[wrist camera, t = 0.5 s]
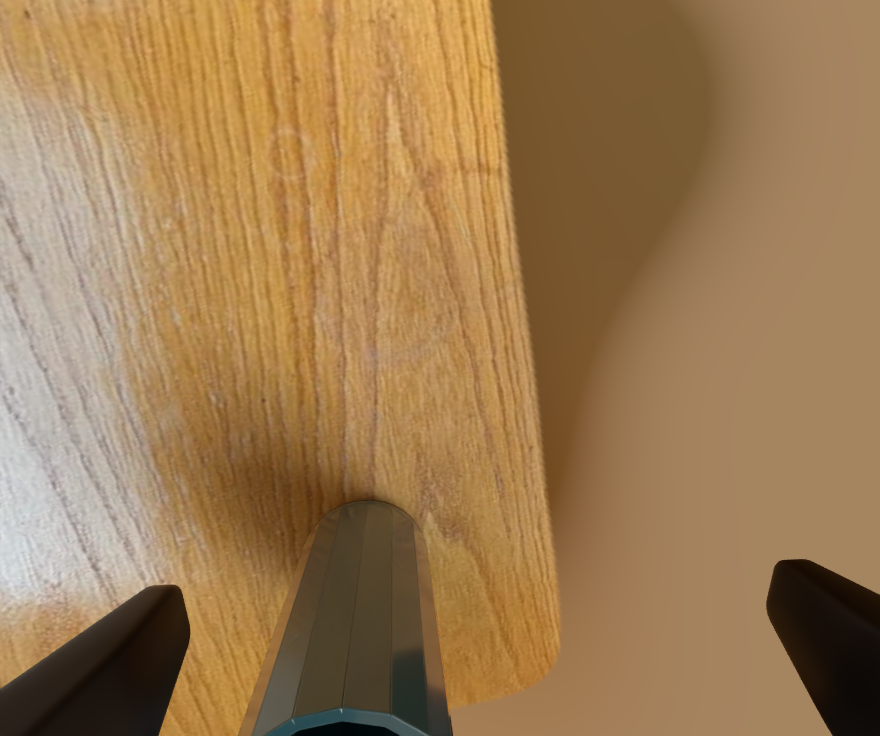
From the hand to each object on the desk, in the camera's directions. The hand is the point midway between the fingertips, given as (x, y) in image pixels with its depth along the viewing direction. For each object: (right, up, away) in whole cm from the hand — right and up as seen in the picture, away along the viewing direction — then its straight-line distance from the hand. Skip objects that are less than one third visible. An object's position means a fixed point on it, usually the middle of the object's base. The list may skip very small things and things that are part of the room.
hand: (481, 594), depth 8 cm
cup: (-4, -5, +14) cm, 16 cm away
